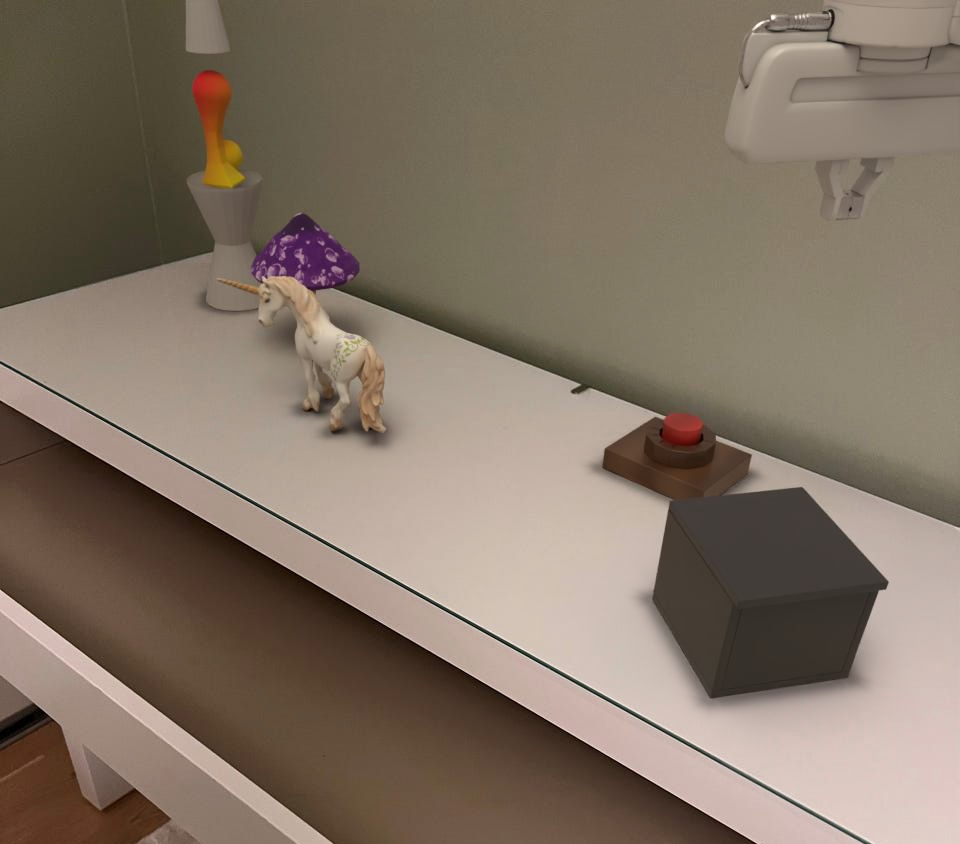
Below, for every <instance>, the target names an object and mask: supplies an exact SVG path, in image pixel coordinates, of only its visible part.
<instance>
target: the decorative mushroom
mask: <svg viewBox="0 0 960 844" xmlns="http://www.w3.org/2000/svg"><path fill="white" fill-rule="evenodd" d="M256 255H257V256H256V257H255V259H254V261H253V263H252V265H251V270H250V272H251V274H252V275H253V276H254V278H255V279H256V280H257V281H258V282H260V283H262V284H263V281H262V276H264V277H265V278H266V279H268V278H269V277H271V276H275V277H281V276H286V277H293V278H295V279H296V280H297V281H298V282H299V283H300V284H302V285H304V286H305V287H306V288H307V289H308V290H310V291H312V292H313V293H314V294H315V295H316V296H317V291H323V290H329V289H330V290H331V289H334V288H337V287H340V286H344V285H345V284H348V283H350V282H351V281H353V280H354V279H355V278H356V277H357V275H358V274H359V273H360V270H361V268H360V267H361V266H360V262H359V261H358V259H357V257H356V256H355V255H353V254H352V253H351V252H350V251H349V250H348V249H346V248H345V247H344V246H343V245H342V244H341V243H340V242H339V241H338V240H337V239H335V237H334V236H333V235H332V234H331V233H329V232H328V231H327V230H326V229H324V228H322V226H320V224H318V223H317V222H316V221H315V220H313V218H312V217H310V216H309V215H308V214H307V213H304V212H298V213H296V214H295V215H294V216H292V218H291V219H290V220H289V222H288V223H287V224H286V225H285V226H284V227H282V229H281V230H280V231H278V232H277V233H275V234H274V235H273V236H272V238H271V239H270V240H269V241H268V243H267V244H265V246H264V248H263V249H262V250H261V251H260V252H259V253H258V254H256Z"/></svg>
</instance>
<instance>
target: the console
mask: <svg viewBox="0 0 960 844" xmlns="http://www.w3.org/2000/svg"><path fill="white" fill-rule="evenodd" d="M664 419H665V418H663V419H662V418H660V417H658V416H654V417H652V418H651V419H649V420H647V421H646V422H644V423H642V424H641V425H639V426H638V427H636V428H635V429H633V430H631V431H630V432H628V433H627V434H625V435H623V436H622V437H620V438H619V439H617V440H616V441H614V442H613V443H611V444H609V445H608V446H606V447H605V448H604V450H603V458H602V467H601V468H602V469H604V470H607V471H608V472H610V473H613V474H616V475H618V476H620V477H621V478H622V477H623V478H625V479H627V480H629V481H632V482H633V483H635V484H638V485H641V486H643V487H646V488H647V489H649V490H652V491H654V492H657V493H658V494H661V495H663V496H666V497H668V498H670V499H671V500H682V499H691V498H701V497H710V496H720V495H723V494H724V493H725V492H727V490H729V489H730V488H731V487H733V486H734V485H735V484H736V483H738V482H739V481H740V480H741V479H743V478H744V477H746V476H747V475H748V473H749V469H750V465H751V461H752V456H753V454H752V453H749V452H746V451H744V450H741V449H740V448H737V447H734V446H732V445H729V444H726V443H723V442H721V441H718V440H717V434H716V433H715V432H714V431H713V430H712V429H710V428H709V427H708V426H707V425H704V424H703V427H702V432H701V437H700V442H699V443H698V444H697V445H692V446H679V445H674V444H671V443H669V442H666V441H664V440H663V439H662V430H663V424H664Z"/></svg>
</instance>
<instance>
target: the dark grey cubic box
mask: <svg viewBox="0 0 960 844" xmlns="http://www.w3.org/2000/svg"><path fill="white" fill-rule="evenodd" d="M665 519H666V520H665V525H664V531H663V537H662V541H661V542H662V543H661V548H660V554H659V559H658V564H657V570H656V574H655V582H654V586H653V593H652V601H653V603H654V605H655V606H656V608H657V609H658V611H659V613H660V615H661V617H662V618H663V620H664V622H665V623H666V625H667V627H668V629H669V630H670V631H671V634H672V635H673V637H674V639H675V640H676V642H677V644H678V646H679V647H680V649H681V650H682V652H683V654H684V656H685V657H686V659H687V661H688V662H689V664H690V666H691V668H692V669H693V672H695V674H696V676H697V678H698V679H699V681H700V684H702V687H703V688H704V690H705V691H706V694H707V695H708V696H709V698H710V699H712V698H713V699H714V698H719V697H725V696H733V695H740V694H746V693H747V694H748V693H753V692H760V691H766V690H773V689H780V688H785V687H786V688H787V687H793V686H800V685H807V684H813V683H814V684H815V683H820V682H825V681H826V682H827V681H833V680H834V681H835V680H840V679H845V678H849V675H850V672H851V669H852V666H853V664H854V661H855V658H856V656H857V653H858V650H859V647H860V645H861V641H862V639H863V636H864V633H865V631H866V627H867V625H868V622H869V619H870V617H871V614H872V612H873V608H874V605H875V603H876V600H877V598H878V595H879V592H880V590H879V591H872V592H864V593H856V594H849V595H841V596H834V597H826V598H818V599H811V600H803V601H795V602H788V603H780V604H772V605H765V606H757V607H750V608H742V609H737V607H736V606H735V605H734V603H733V602H732V600H731V599H730V597H729V596H728V594H727V593H726V591H725V590H724V588H723V587H722V586H721V584H720V583H719V581H718V580H717V578H716V577H715V575H714V574H713V572H712V571H711V569H710V568H709V567H708V565H707V564H706V562H705V561H704V559H703V558H702V556H701V555H700V553H699V552H698V550H697V549H696V548H695V546H694V545H693V543H692V542H691V540H690V539H689V537H688V536H687V534H686V533H685V531H684V530H683V529H682V527H681V526H680V524H679V523H678V521H677V520H676V518H675V517H674V515H673V514H672V512H671V511H670V510H669V508H668V509H667V514H666V518H665Z"/></svg>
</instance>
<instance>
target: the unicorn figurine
mask: <svg viewBox="0 0 960 844" xmlns="http://www.w3.org/2000/svg"><path fill="white" fill-rule="evenodd" d="M216 280H218V281H219V282H222V283H224V284H227V285H230V286H233V287H235V288H238V289H241V290H244V291H247V292H250V293H252V294H255V295H259V297H260V304H259V308H258V310H257V312H258V314H257V315H258V317H257V321H258V323H259V324H260V325H261V326H262V327H263V328H270V327H271V326H273V325H275V317H276V315H277V314H278V312H279V311H281V310H283V308H285V307H287V309H289V310H290V311H291V312H292V315H293V316H294V318H295V321H296V329H295V332H294V342H295V350H296V353H297V356H298V358H299V361H300V364H301V366H302V368H303V371H304V380H305V383H306V386H307V395H306V398H305V399H304V400H303V402H302V404H301V408H302V410H304V411H309V410H310V409H313V410H314V411H315V412H316V413H318V412H319V410H320V407H319V406H320V400H321V394H320V392H319V390H318V389H317V388H316V385H315V383H316V382H315V381H316V374H317V380H318V381H317V382H318V384H319V385H320V388H321V392H322V394H323V396H324V398H325V399H326V400H330V399H332V398H333V397H334V394H335V389H334V387H333V380H334V383H335V388H336V391H337V393H338V396H339V399H338V402H337V403H336V404H335V405H334V406H333V407H332V408H331V409H330V418H329V429H330V432H335V431H338V430H340V429H342V428H343V420H344V419H345V417H346V415H345V409H346V408H348V407H350V405H351V404H352V400H351V398H350V384H351V382H352V381H353V380H355V379H356V377H357V378H358V379H359V381H360V383H361V388H362V389H361V390H360V391H359V393H358V395H357V403H358V405H359V418H360V420H361V427H362V428H363V430H364V431H365V432H366V433H367V432H369V429H372V430H374V431H376V432H378V433H381V434H382V433H386V432H387V428H386V426H384V425H383V422H384V420H383V417H382V416H381V414H380V410H381V407H380V406H382V405H384V394H383V392H384V391H383V390H384V388H385V379H386V370H385V363H384V359H383V358H382V356H380V354H378V353H377V350H376V348H375V346H374V345H373V344H372V343H371V342H370V341H368V340H367V339H366V338H364V337H362V336H361V335H358V334H354V333H350V332H346V331H344V330H342V329H341V328H339V327H337V326H335V325H334V324H333V323H332V322H331V321H330V320H331V319H330V316H329V315H328V313H327V311H326V310H325V309H324V307H323V304H322V302H321V301H320V300H319V298H318V296H317V294H316V295H315V294H314V293H313V292H312V291H310V290H308V289H307V288H306V287H305V286H304V285H302V284H300V283H299V282H298V281H297V280H296V279H295V278H293V277H286V276H281V277H275V276H271V277H269V278H268V279H266V278H265V277H264V276H262V281H263V284H261V285H260V286H259V288H258V287H254V286H249V285H246V284H242V283H237V282H233V281H228V280H226V279H221V278H217V279H216ZM314 368H315V372H316V374H315V372H314ZM324 370H325V371H329V372H330V373H331V376H332V377H333V379H332V377H331V376H330V375H329V374H328V373H326V372H324Z"/></svg>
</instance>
